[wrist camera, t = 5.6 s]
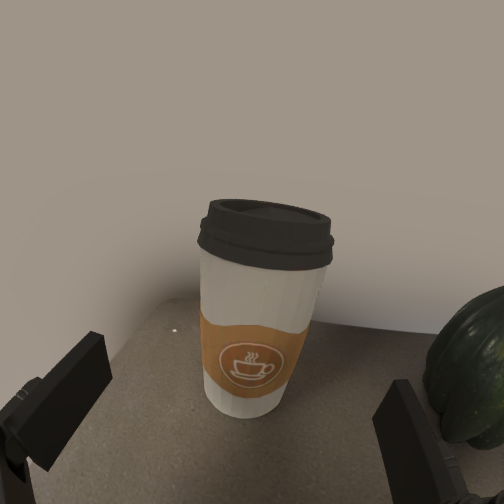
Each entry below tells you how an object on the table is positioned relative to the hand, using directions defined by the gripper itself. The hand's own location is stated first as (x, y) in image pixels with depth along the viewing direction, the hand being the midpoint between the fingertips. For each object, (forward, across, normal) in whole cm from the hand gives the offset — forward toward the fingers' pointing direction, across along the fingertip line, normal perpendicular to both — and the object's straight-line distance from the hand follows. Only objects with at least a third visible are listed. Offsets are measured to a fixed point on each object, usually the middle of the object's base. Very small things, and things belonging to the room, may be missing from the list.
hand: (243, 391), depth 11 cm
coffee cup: (+8, 0, -9) cm, 12 cm away
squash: (+5, +22, -9) cm, 24 cm away
